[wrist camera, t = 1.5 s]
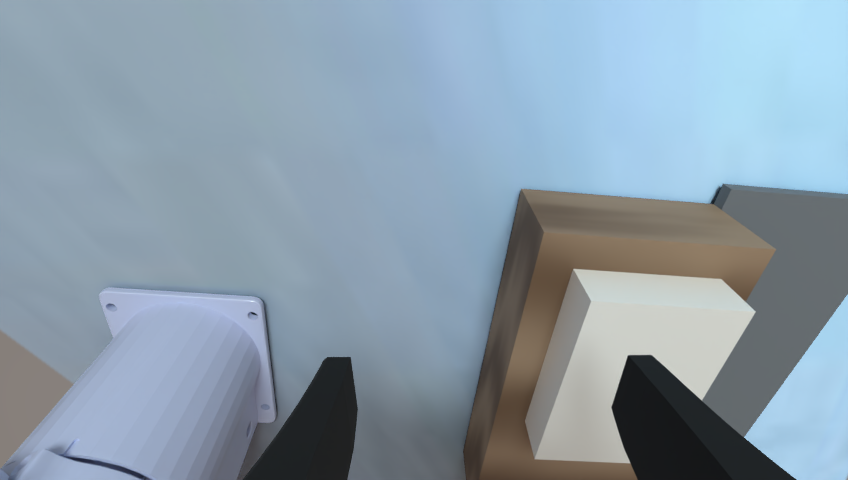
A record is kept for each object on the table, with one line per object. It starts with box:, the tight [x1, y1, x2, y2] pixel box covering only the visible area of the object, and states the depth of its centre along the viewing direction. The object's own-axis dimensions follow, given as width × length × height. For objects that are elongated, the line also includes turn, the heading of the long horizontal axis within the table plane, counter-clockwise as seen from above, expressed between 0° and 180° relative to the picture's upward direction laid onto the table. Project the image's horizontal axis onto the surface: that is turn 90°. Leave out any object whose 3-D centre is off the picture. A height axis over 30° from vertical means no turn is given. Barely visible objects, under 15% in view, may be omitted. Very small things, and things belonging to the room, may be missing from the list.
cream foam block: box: [525, 269, 756, 463], centre depth 18 cm, size 9×6×2 cm, turn 175°
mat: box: [702, 184, 848, 437], centre depth 24 cm, size 17×8×1 cm, turn 175°
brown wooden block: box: [463, 189, 776, 480], centre depth 23 cm, size 19×9×4 cm, turn 175°
